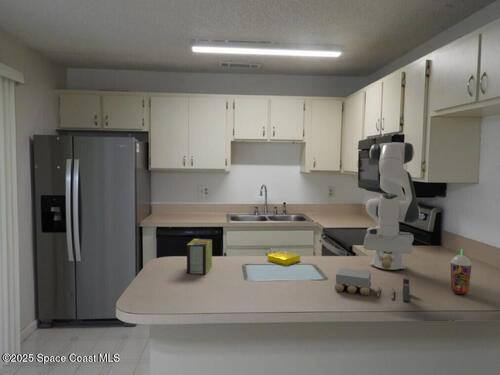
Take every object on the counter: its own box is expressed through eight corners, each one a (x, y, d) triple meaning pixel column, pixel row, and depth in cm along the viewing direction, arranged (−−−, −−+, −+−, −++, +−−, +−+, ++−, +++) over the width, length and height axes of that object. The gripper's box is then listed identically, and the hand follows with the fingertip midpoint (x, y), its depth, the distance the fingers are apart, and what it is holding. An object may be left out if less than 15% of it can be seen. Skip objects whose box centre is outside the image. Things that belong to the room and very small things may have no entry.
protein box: (212, 266, 199) (212, 239, 198) (206, 274, 183) (206, 245, 182) (193, 265, 200) (193, 238, 199) (186, 273, 184) (186, 244, 183)
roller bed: (339, 283, 172) (339, 275, 172) (394, 291, 162) (394, 283, 162) (334, 291, 161) (334, 283, 161) (393, 300, 151) (393, 291, 151)
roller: (382, 261, 163) (383, 253, 163) (391, 262, 162) (391, 254, 162) (381, 268, 152) (381, 259, 152) (390, 269, 151) (391, 260, 151)
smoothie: (459, 296, 157) (462, 251, 156) (444, 289, 165) (446, 247, 164) (474, 294, 159) (477, 250, 158) (459, 288, 167) (461, 246, 166)
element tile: (266, 261, 211) (266, 253, 211) (281, 257, 222) (282, 249, 222) (285, 267, 201) (286, 258, 200) (301, 262, 212) (301, 254, 211)
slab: (340, 275, 172) (340, 267, 171) (370, 279, 166) (370, 271, 166) (335, 282, 161) (336, 274, 160) (368, 287, 155) (368, 278, 155)
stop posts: (402, 292, 160) (403, 277, 160) (408, 293, 159) (409, 278, 159) (402, 301, 150) (403, 285, 150) (409, 302, 149) (409, 286, 149)
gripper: (413, 231, 155) (412, 262, 156) (364, 227, 163) (363, 257, 164) (414, 233, 149) (412, 266, 150) (363, 229, 157) (362, 260, 158)
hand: (386, 261), depth 157 cm, fingers closed on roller, 4 cm apart
